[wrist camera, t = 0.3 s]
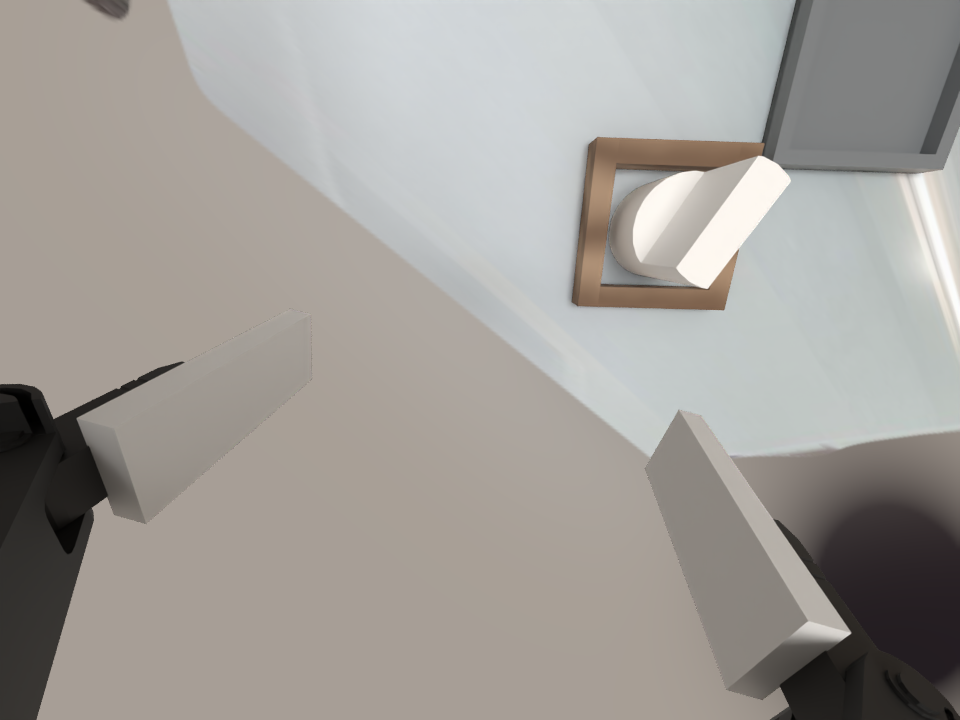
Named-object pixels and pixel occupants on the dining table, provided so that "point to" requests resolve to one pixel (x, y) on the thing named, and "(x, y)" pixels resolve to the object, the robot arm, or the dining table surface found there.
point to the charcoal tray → (867, 87)
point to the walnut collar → (596, 212)
